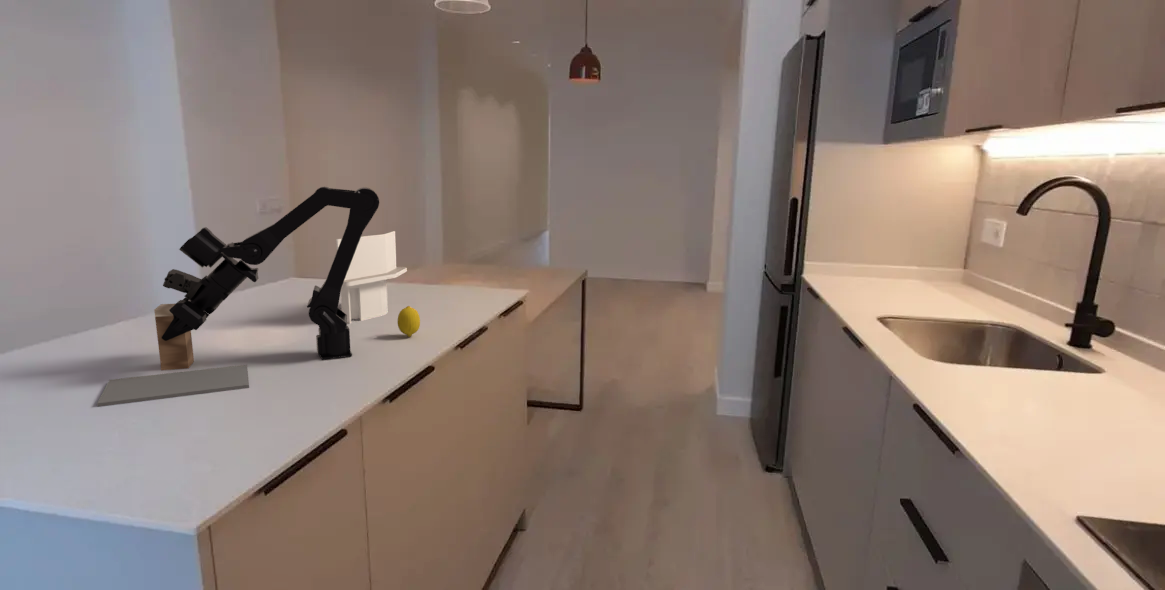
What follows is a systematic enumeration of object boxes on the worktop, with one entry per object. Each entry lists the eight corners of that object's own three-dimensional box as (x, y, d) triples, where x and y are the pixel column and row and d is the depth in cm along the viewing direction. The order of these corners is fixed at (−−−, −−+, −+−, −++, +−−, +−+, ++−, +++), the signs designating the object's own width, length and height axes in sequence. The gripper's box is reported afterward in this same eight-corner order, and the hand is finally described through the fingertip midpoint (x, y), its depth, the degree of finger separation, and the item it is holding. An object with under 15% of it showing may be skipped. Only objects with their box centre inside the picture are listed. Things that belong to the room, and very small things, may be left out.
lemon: (393, 338, 163) (392, 307, 162) (407, 332, 168) (406, 302, 167) (411, 340, 161) (410, 309, 160) (424, 335, 166) (424, 305, 165)
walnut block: (194, 361, 141) (187, 303, 139) (188, 368, 137) (182, 308, 134) (167, 362, 140) (160, 304, 137) (161, 370, 135) (154, 309, 132)
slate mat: (247, 367, 138) (247, 364, 138) (249, 387, 126) (248, 384, 126) (109, 382, 127) (109, 379, 127) (97, 406, 115) (97, 403, 115)
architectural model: (350, 303, 201) (346, 228, 197) (417, 305, 201) (415, 230, 196) (309, 325, 174) (304, 238, 169) (388, 328, 173) (384, 241, 169)
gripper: (198, 250, 143) (145, 301, 142) (177, 263, 126) (117, 321, 125) (240, 284, 148) (190, 334, 146) (226, 301, 130) (168, 357, 129)
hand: (167, 335), depth 136 cm, fingers closed on walnut block, 5 cm apart
